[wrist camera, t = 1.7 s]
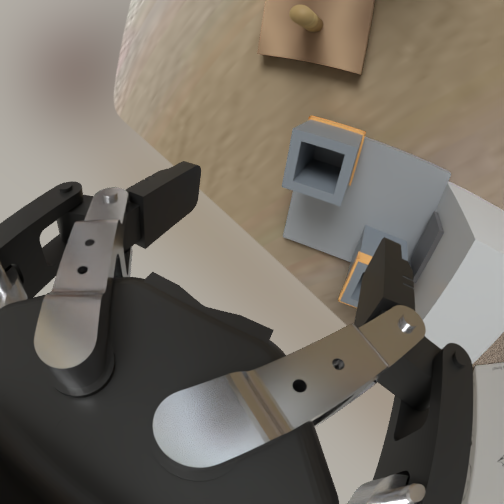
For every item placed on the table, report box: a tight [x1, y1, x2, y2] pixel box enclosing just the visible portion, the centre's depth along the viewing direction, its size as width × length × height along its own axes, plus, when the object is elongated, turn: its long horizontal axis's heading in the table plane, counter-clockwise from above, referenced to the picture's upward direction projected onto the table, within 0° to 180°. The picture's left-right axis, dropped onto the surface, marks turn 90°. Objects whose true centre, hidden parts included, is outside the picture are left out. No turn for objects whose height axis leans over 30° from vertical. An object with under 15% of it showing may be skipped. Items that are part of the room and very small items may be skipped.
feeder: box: [283, 137, 504, 364], centre depth 23 cm, size 23×14×12 cm, turn 82°
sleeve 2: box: [338, 225, 408, 308], centre depth 27 cm, size 5×5×7 cm
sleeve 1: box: [282, 116, 366, 207], centre depth 24 cm, size 5×5×7 cm
